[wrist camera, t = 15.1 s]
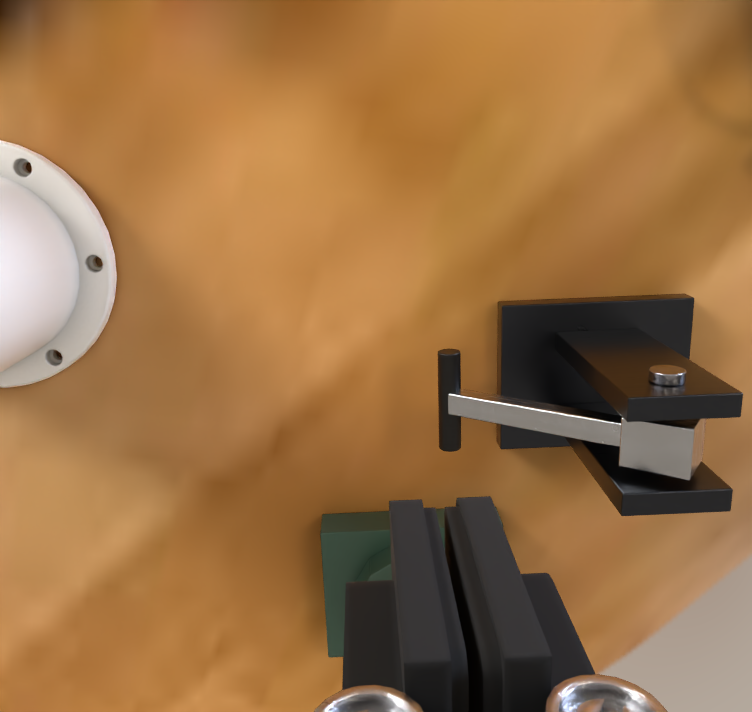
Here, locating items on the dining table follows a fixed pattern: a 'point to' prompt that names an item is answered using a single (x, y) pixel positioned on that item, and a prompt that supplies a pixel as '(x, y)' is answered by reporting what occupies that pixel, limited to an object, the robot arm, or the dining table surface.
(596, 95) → the dining table surface
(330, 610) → the button box
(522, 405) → the lever
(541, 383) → the bracket
